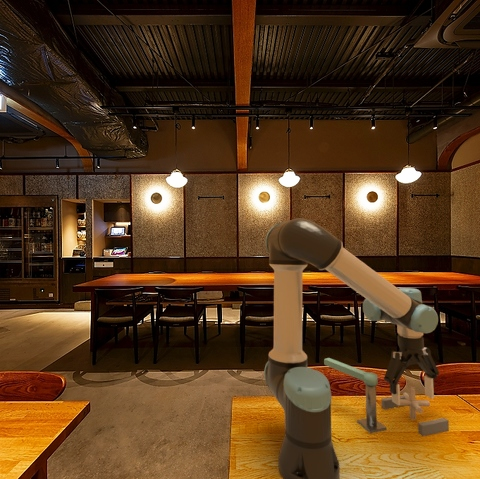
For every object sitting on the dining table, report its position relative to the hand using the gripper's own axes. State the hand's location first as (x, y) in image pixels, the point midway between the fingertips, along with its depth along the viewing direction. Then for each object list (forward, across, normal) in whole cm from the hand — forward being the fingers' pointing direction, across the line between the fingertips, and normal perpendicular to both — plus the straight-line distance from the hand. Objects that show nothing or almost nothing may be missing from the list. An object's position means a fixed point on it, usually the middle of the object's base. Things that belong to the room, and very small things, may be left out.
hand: (413, 400), depth 98 cm
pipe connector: (+6, 0, 0) cm, 6 cm away
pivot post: (+6, -16, 0) cm, 17 cm away
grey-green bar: (-8, -18, +8) cm, 22 cm away
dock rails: (+6, 0, 0) cm, 6 cm away
